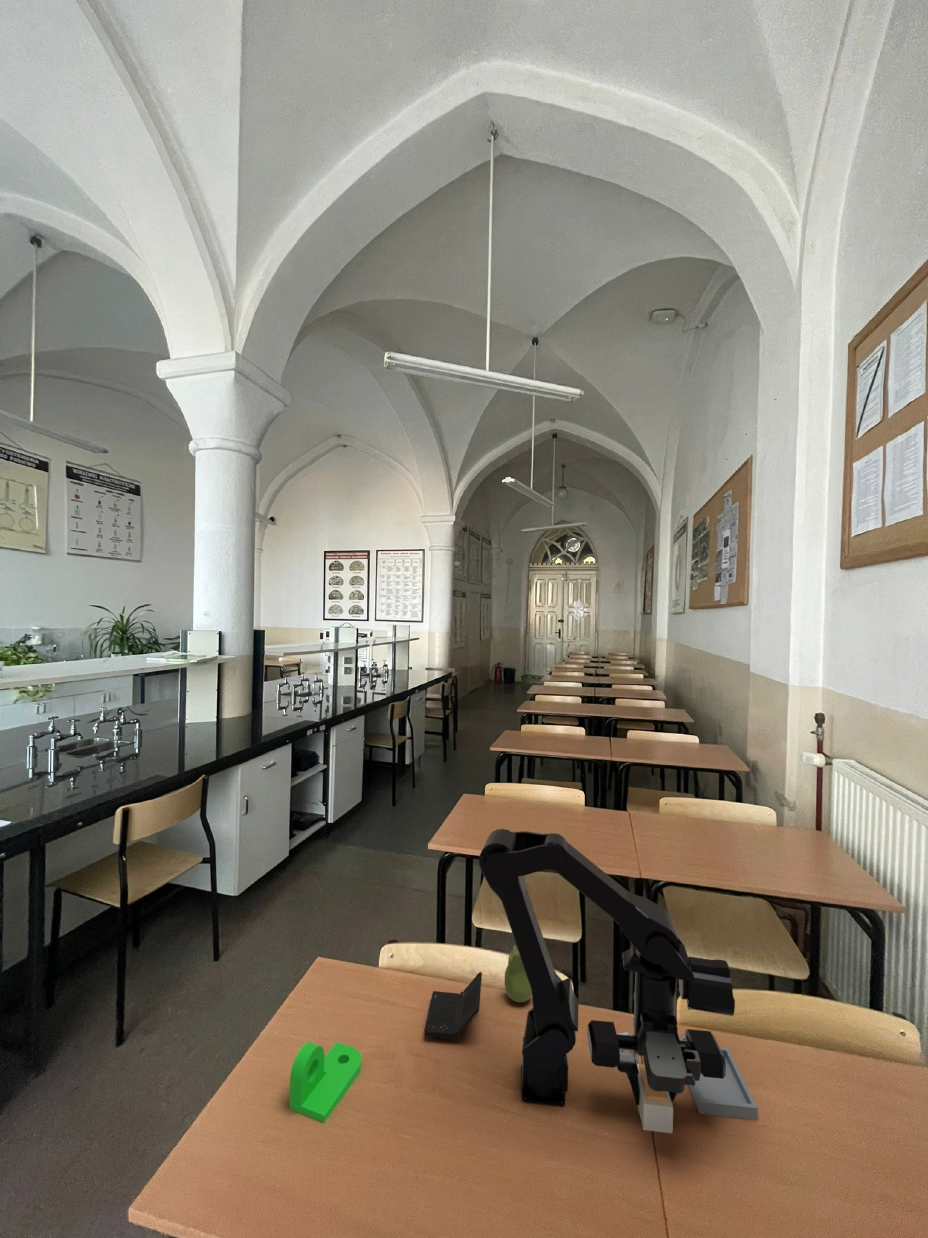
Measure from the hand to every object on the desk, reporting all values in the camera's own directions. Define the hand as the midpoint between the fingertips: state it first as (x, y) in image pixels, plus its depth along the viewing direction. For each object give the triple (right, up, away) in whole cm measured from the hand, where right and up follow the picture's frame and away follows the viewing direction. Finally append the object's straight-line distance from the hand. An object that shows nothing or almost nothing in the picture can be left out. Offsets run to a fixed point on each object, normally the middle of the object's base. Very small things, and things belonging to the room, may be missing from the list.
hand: (652, 1104), depth 81 cm
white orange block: (0, -1, 0) cm, 1 cm away
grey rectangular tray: (+11, -1, +5) cm, 13 cm away
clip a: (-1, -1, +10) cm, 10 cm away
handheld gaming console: (-33, -1, +17) cm, 37 cm away
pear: (-17, -1, +23) cm, 29 cm away
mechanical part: (-48, 0, +3) cm, 48 cm away
